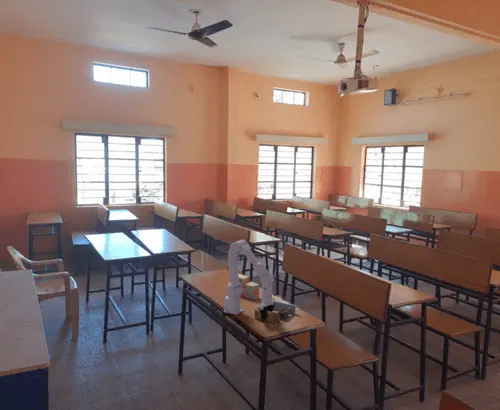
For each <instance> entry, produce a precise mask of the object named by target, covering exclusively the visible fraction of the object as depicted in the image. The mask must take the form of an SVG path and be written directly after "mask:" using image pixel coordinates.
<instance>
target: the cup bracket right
mask: <svg viewBox="0 0 500 410" xmlns="http://www.w3.org/2000/svg"><path fill="white" fill-rule="evenodd" d="M277 313H279V318H280V319H279V320H282V319H284V320H285V319H286V317H287V318H288V317H289V316H290V313H289V309H287V308H282V311H280V310H277Z"/></svg>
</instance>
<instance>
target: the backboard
mask: <svg viewBox="0 0 500 410" xmlns="http://www.w3.org/2000/svg"><path fill="white" fill-rule="evenodd" d="M273 303H275V306H274V308H273V310H276V309H277V310H276V311H280V310H281V311H280V312H282V308H287V309H289V314H294V315H296V311H297V310H296V308H297V306H296V304H295V305H294V304H292V303H287V302H283V301H278V300H274V302H273Z"/></svg>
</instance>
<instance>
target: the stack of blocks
mask: <svg viewBox="0 0 500 410" xmlns="http://www.w3.org/2000/svg"><path fill="white" fill-rule="evenodd" d="M238 276H239V282H240V283H241V286H242V288H243V292H242V294H241V297H244V298H246V299H248V300H256V299H259V296H260V295H259V294H260V284H259V283H256V282H252V281H250V276H248V275H244V274H241V273H238Z"/></svg>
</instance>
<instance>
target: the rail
mask: <svg viewBox="0 0 500 410" xmlns="http://www.w3.org/2000/svg"><path fill="white" fill-rule="evenodd" d="M256 318H258V319H257V320H260V319H262V316H261V313H260V311H259V309H258V307H257V308H256V309H255V310H254V319H256ZM261 321H264V320H263V319H262V320H261ZM268 321H270V322H269V323H271V322H274V323H273V324H275V323H277V322H278V321H279V322H280V319H279V313H278V312H275V311H272V312H271V311H268V312H267V316H266V321H265V322H268ZM279 322H278V323H279ZM278 323H277V324H278Z"/></svg>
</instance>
